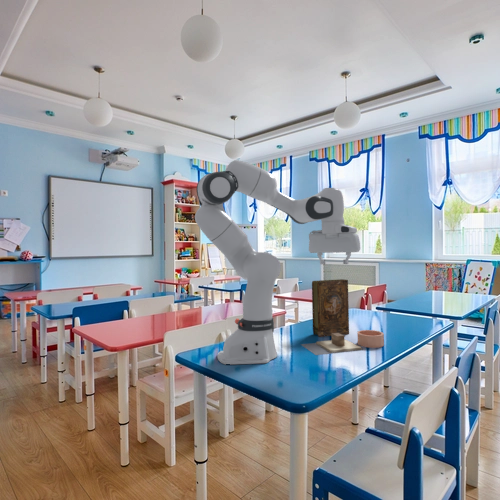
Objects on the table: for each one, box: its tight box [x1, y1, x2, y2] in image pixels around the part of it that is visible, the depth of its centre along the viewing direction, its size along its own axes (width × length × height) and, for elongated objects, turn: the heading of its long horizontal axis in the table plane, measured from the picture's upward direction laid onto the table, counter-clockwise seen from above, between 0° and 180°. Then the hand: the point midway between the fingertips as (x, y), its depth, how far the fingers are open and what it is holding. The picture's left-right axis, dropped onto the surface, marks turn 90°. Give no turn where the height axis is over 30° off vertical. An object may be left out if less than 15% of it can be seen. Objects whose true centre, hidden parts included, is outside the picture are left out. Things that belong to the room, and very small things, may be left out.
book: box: [311, 278, 350, 338], centre depth 159 cm, size 16×6×25 cm, turn 105°
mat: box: [300, 342, 364, 356], centre depth 138 cm, size 20×15×1 cm
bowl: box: [356, 329, 385, 349], centre depth 141 cm, size 10×10×5 cm
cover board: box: [315, 333, 363, 354], centre depth 138 cm, size 13×13×5 cm
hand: (334, 264), depth 138 cm, fingers open, 8 cm apart
